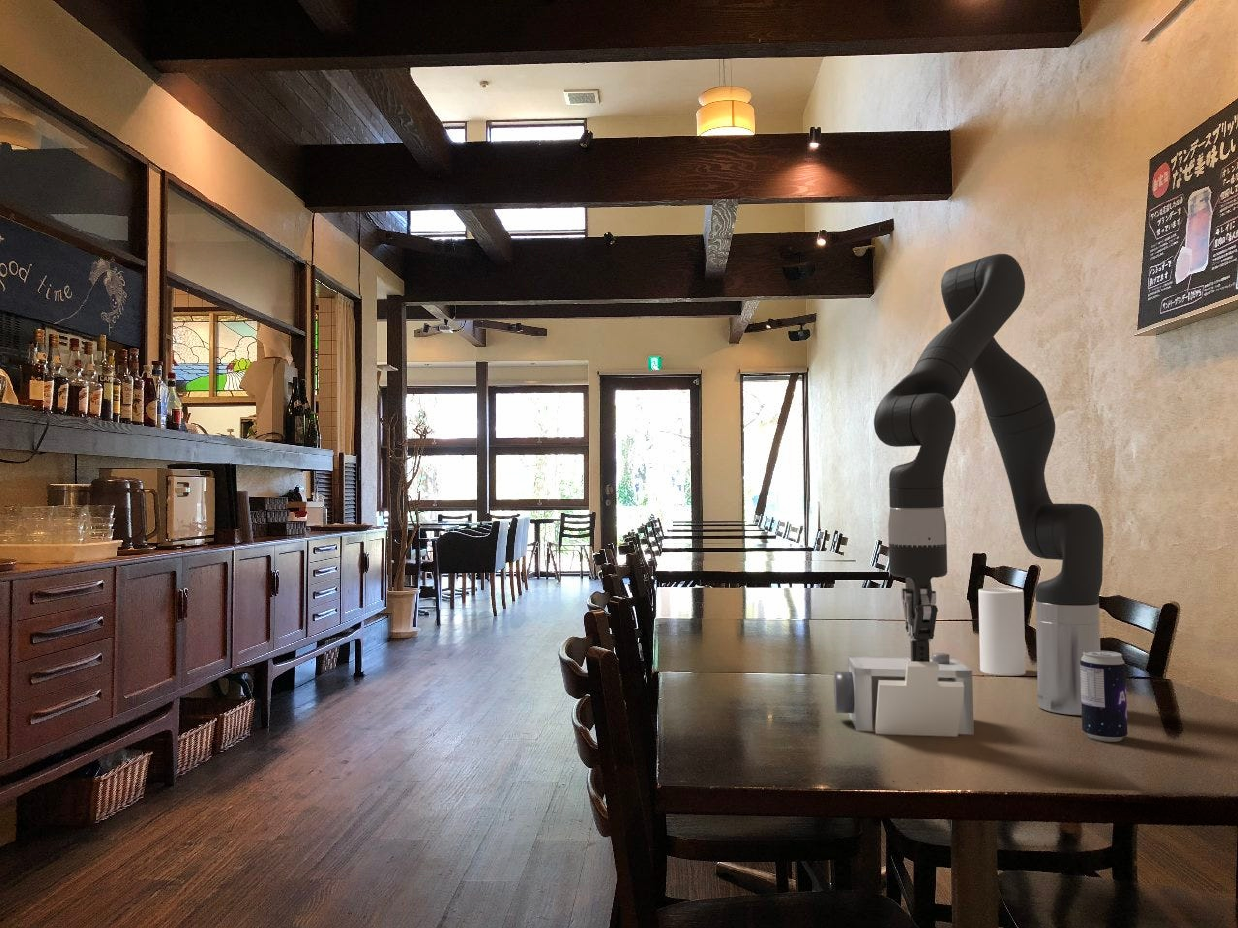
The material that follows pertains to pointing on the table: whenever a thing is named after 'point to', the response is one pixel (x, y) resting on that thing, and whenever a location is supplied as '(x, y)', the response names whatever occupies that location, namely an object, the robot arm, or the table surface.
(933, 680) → the side door
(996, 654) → the cup
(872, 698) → the camera housing
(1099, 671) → the beverage can
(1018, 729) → the table surface
